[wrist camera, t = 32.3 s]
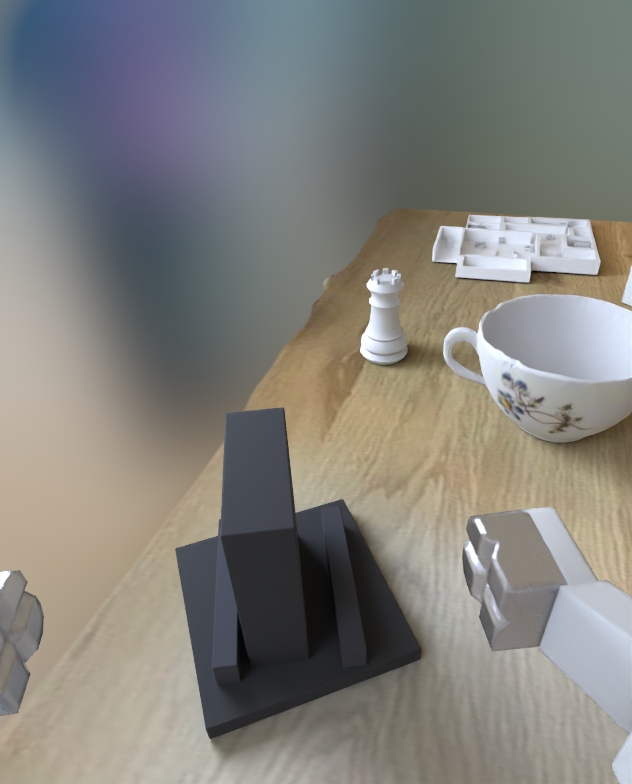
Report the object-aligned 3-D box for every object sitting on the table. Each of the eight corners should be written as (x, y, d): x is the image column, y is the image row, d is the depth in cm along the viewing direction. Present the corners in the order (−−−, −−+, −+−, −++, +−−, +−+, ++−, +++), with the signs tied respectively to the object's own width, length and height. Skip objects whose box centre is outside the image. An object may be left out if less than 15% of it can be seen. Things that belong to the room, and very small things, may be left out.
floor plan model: (419, 299, 61) (420, 283, 60) (445, 221, 80) (446, 207, 79) (607, 316, 56) (612, 298, 55) (587, 228, 75) (590, 213, 74)
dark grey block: (309, 659, 28) (295, 528, 22) (250, 667, 28) (219, 537, 22) (297, 534, 35) (284, 406, 29) (249, 540, 34) (225, 412, 28)
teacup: (638, 389, 46) (669, 302, 41) (643, 494, 37) (683, 398, 32) (454, 358, 51) (463, 277, 47) (419, 443, 42) (426, 354, 37)
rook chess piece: (365, 339, 55) (365, 262, 50) (411, 344, 54) (415, 265, 49) (354, 363, 51) (354, 283, 47) (403, 369, 50) (407, 288, 46)
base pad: (209, 739, 26) (200, 714, 25) (178, 558, 35) (169, 530, 33) (420, 659, 29) (423, 631, 27) (343, 508, 37) (342, 481, 36)
